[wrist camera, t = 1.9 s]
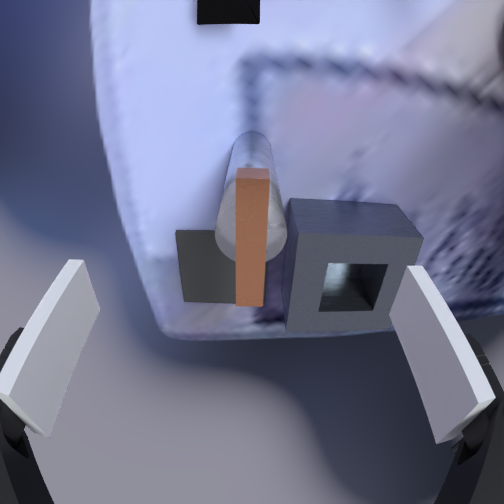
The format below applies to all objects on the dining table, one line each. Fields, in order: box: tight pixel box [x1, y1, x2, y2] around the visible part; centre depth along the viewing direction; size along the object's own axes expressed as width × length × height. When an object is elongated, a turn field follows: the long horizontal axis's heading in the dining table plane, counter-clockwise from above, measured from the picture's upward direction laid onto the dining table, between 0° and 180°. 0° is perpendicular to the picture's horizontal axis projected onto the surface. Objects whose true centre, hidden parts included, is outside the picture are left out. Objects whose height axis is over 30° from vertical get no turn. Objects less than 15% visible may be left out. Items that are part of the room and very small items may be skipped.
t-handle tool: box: [215, 131, 287, 307], centre depth 22 cm, size 4×7×17 cm, turn 179°
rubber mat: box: [175, 230, 267, 304], centre depth 37 cm, size 10×10×1 cm
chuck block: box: [282, 198, 424, 332], centre depth 32 cm, size 12×12×7 cm
